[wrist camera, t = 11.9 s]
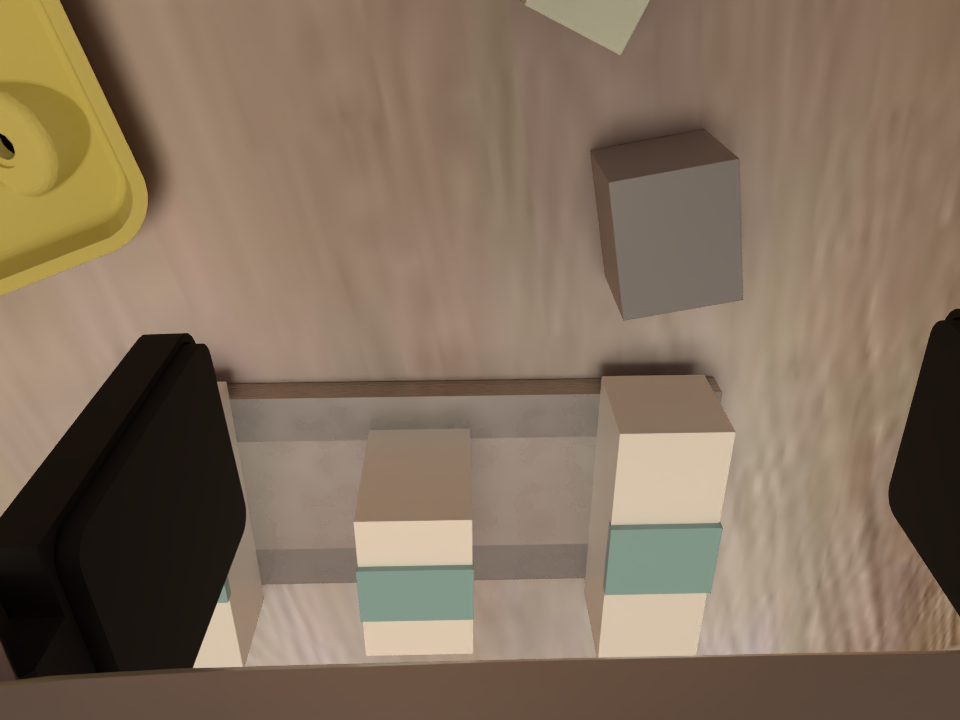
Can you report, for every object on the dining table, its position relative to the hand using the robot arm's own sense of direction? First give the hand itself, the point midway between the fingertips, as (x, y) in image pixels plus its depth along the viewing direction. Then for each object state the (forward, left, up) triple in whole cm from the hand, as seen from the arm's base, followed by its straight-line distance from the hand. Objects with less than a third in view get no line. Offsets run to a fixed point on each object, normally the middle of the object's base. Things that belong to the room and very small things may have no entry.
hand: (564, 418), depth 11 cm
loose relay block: (-7, +6, -27) cm, 28 cm away
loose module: (+3, +21, -25) cm, 33 cm away
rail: (+4, +21, -26) cm, 34 cm away
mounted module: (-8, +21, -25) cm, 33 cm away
